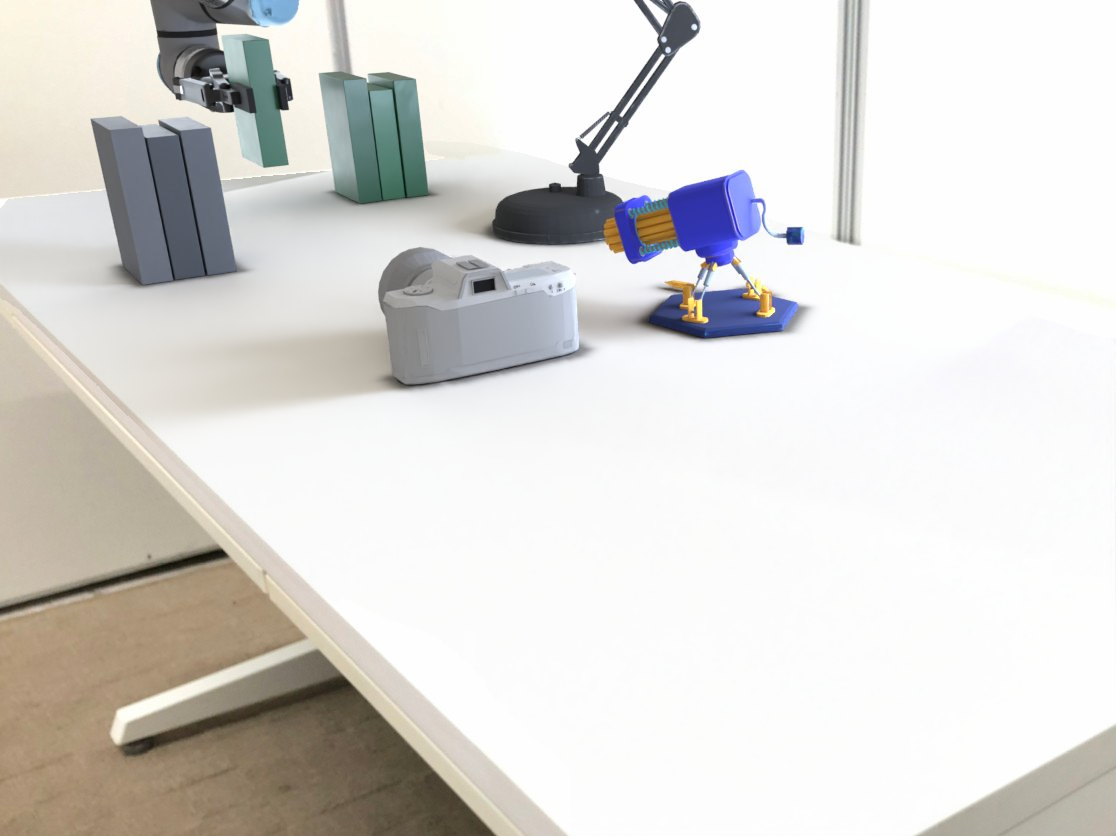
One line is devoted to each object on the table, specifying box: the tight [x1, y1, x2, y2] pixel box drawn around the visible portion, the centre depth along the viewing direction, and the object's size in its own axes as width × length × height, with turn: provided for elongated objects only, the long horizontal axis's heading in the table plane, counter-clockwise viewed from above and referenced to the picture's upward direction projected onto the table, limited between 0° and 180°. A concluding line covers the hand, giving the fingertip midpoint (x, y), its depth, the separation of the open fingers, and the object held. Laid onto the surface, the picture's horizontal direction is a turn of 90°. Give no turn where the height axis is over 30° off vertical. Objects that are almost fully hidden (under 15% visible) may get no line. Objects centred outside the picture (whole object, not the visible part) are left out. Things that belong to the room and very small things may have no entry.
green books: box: [318, 71, 429, 204], centre depth 164 cm, size 9×9×14 cm
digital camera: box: [377, 246, 580, 386], centre depth 107 cm, size 17×14×10 cm
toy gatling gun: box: [604, 169, 805, 339], centre depth 116 cm, size 14×18×13 cm
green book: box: [220, 33, 290, 169], centre depth 155 cm, size 9×3×14 cm, turn 34°
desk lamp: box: [491, 0, 701, 245], centre depth 139 cm, size 24×26×45 cm
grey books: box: [90, 115, 238, 286], centre depth 130 cm, size 9×9×15 cm
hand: (267, 99), depth 150 cm, fingers closed on green book, 3 cm apart
